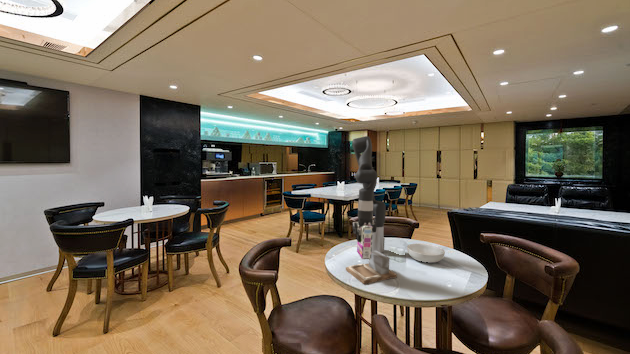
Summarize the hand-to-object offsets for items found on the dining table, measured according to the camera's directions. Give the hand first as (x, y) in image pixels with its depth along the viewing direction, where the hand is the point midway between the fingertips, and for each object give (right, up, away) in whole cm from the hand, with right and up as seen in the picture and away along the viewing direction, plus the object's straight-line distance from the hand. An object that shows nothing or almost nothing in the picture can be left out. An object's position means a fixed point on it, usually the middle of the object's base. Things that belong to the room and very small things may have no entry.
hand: (364, 241), depth 135 cm
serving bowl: (+41, -17, +23) cm, 50 cm away
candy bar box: (0, -8, +1) cm, 8 cm away
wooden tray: (+4, -18, +3) cm, 18 cm away
